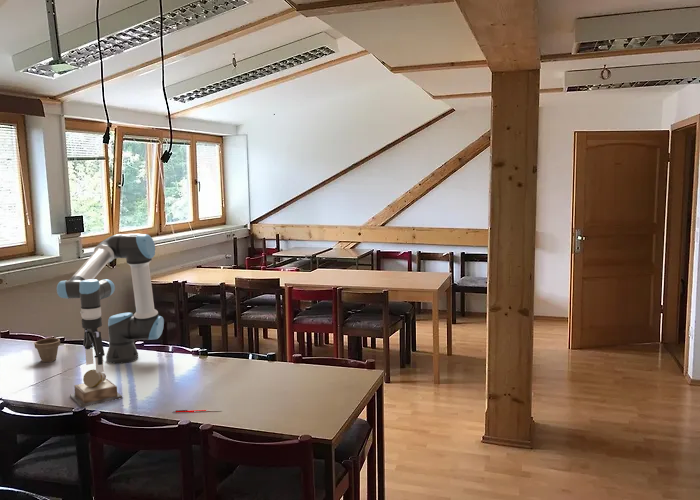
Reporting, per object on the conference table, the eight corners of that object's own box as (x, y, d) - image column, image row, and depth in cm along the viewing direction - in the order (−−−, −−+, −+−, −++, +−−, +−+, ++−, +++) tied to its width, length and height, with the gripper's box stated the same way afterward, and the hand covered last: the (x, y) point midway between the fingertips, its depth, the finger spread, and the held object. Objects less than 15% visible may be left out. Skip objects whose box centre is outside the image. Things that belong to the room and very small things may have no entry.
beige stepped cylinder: (111, 380, 252) (109, 364, 246) (97, 397, 244) (94, 381, 238) (96, 375, 253) (93, 359, 247) (81, 392, 245) (78, 375, 239)
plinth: (109, 388, 257) (109, 376, 256) (122, 398, 245) (121, 386, 244) (70, 396, 247) (69, 384, 246) (81, 407, 235) (80, 395, 234)
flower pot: (36, 365, 291) (34, 345, 290) (35, 359, 301) (33, 340, 300) (62, 361, 297) (60, 341, 296) (60, 356, 307) (59, 337, 306)
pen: (172, 412, 229) (172, 410, 229) (222, 411, 230) (222, 408, 230) (171, 413, 228) (171, 410, 228) (221, 412, 229) (221, 409, 229)
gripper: (73, 313, 249) (76, 362, 252) (91, 324, 230) (94, 377, 233) (91, 311, 254) (95, 359, 257) (111, 321, 235) (114, 373, 237)
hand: (94, 368), depth 245 cm, fingers open, 13 cm apart
